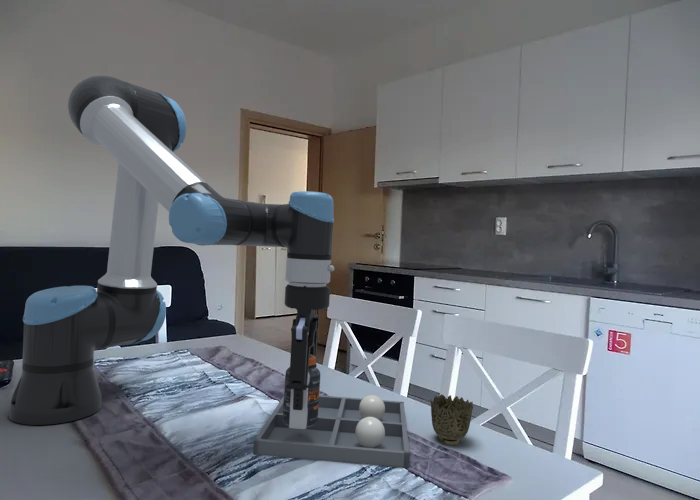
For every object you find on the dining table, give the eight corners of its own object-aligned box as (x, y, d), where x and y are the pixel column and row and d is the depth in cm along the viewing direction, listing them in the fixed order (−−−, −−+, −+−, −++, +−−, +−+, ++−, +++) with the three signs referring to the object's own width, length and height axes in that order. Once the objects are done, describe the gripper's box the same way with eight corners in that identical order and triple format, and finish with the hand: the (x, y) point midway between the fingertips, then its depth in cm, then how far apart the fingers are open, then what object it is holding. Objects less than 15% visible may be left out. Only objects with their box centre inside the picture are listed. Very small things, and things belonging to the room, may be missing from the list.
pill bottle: (312, 430, 79) (316, 361, 78) (277, 425, 80) (281, 357, 80) (321, 417, 84) (325, 353, 84) (289, 413, 86) (292, 350, 85)
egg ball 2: (353, 452, 79) (355, 421, 79) (355, 439, 84) (356, 411, 84) (384, 454, 79) (385, 424, 79) (384, 442, 84) (385, 413, 84)
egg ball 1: (357, 425, 91) (359, 398, 91) (359, 415, 96) (360, 390, 96) (384, 427, 90) (385, 400, 90) (384, 417, 95) (385, 392, 95)
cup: (462, 458, 81) (465, 411, 81) (421, 446, 85) (424, 401, 85) (476, 444, 87) (478, 400, 87) (437, 433, 91) (440, 391, 91)
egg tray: (252, 460, 76) (254, 440, 76) (284, 408, 101) (285, 392, 101) (408, 474, 75) (409, 453, 75) (402, 417, 99) (403, 401, 99)
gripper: (322, 290, 72) (315, 445, 72) (335, 281, 91) (329, 403, 91) (273, 288, 73) (265, 441, 73) (296, 278, 91) (290, 400, 92)
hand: (301, 420), depth 82 cm, fingers closed on pill bottle, 6 cm apart
